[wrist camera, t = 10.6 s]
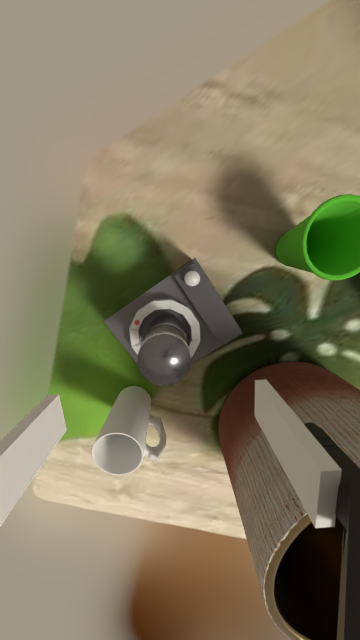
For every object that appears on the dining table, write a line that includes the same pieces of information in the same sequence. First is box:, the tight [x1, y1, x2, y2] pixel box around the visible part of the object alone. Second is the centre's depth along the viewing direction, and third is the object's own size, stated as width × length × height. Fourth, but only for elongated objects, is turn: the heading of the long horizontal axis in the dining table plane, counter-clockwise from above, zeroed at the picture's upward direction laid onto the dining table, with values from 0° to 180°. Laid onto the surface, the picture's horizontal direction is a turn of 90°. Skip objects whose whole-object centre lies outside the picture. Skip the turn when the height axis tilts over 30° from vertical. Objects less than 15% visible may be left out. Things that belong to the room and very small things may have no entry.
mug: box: [91, 386, 166, 475], centre depth 34 cm, size 10×7×12 cm, turn 66°
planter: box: [218, 361, 360, 640], centre depth 30 cm, size 25×25×22 cm
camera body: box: [104, 258, 242, 387], centre depth 33 cm, size 16×13×7 cm
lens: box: [137, 314, 191, 385], centre depth 27 cm, size 6×6×10 cm
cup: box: [276, 194, 360, 281], centre depth 29 cm, size 9×9×11 cm
